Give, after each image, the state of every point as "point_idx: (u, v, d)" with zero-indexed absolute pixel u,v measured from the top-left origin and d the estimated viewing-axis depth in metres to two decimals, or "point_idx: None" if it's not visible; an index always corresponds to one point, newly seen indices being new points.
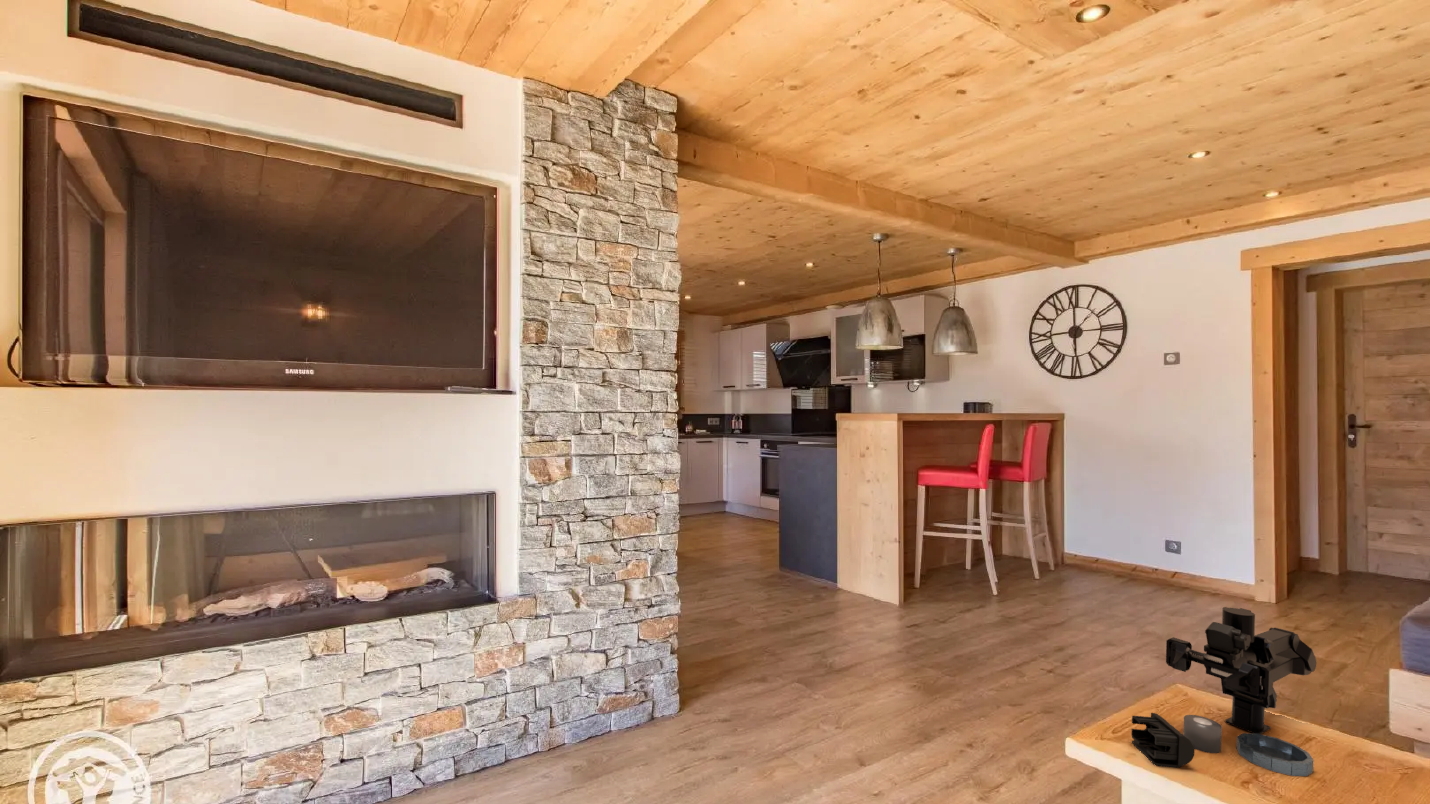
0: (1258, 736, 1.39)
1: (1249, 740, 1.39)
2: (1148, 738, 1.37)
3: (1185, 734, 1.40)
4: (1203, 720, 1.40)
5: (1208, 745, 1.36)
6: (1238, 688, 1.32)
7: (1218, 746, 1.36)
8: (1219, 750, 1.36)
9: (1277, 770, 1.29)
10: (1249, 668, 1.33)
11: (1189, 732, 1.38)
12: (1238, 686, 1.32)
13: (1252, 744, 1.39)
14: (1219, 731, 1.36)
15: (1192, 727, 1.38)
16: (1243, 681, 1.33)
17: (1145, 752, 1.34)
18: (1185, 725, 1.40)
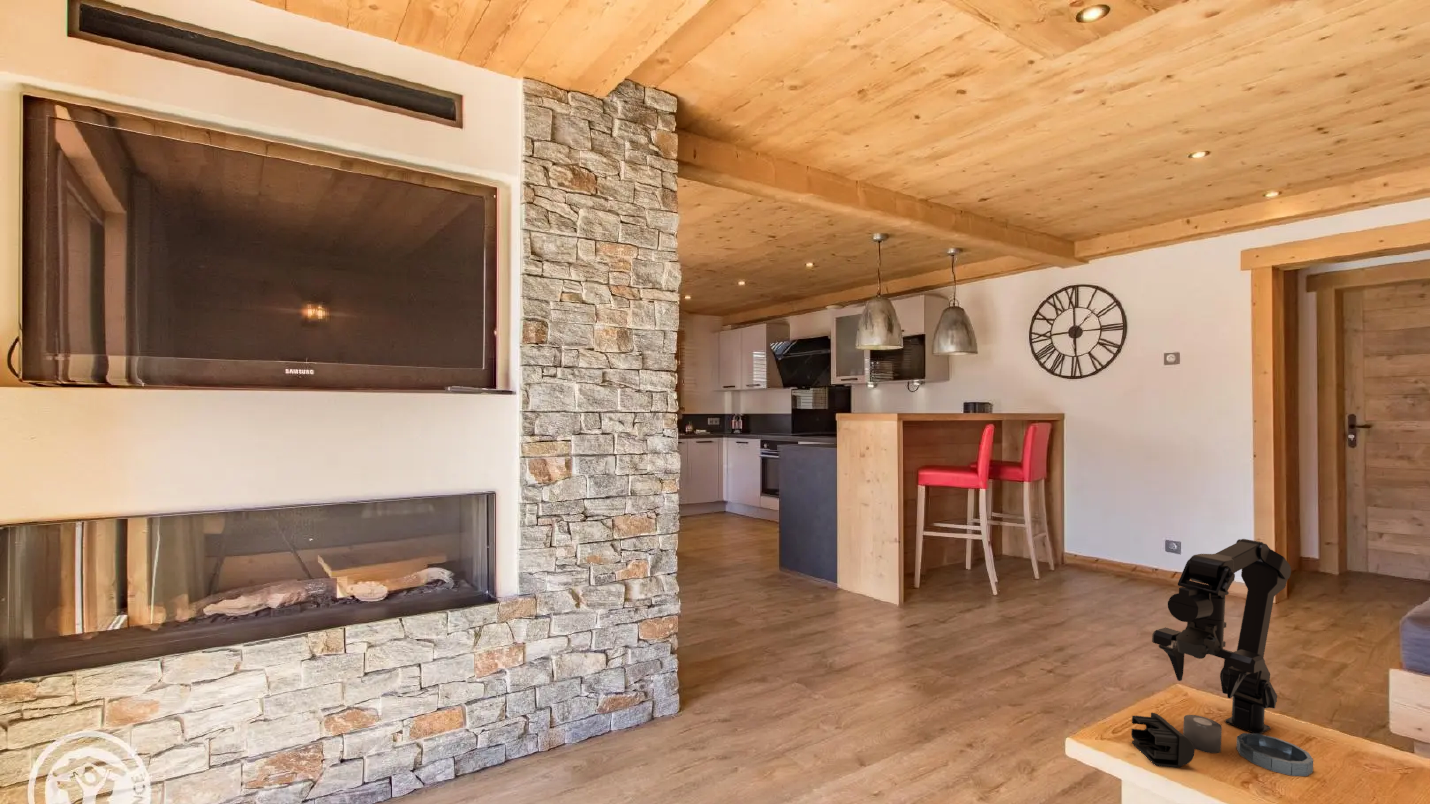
0: (1258, 736, 1.39)
1: (1249, 740, 1.39)
2: (1148, 738, 1.37)
3: (1185, 734, 1.40)
4: (1203, 720, 1.40)
5: (1208, 745, 1.36)
6: (1240, 682, 1.35)
7: (1218, 746, 1.36)
8: (1219, 750, 1.36)
9: (1277, 770, 1.29)
10: (1237, 673, 1.32)
11: (1189, 732, 1.38)
12: (1239, 682, 1.35)
13: (1252, 744, 1.39)
14: (1219, 731, 1.36)
15: (1192, 727, 1.38)
16: None
17: (1145, 752, 1.34)
18: (1185, 725, 1.40)
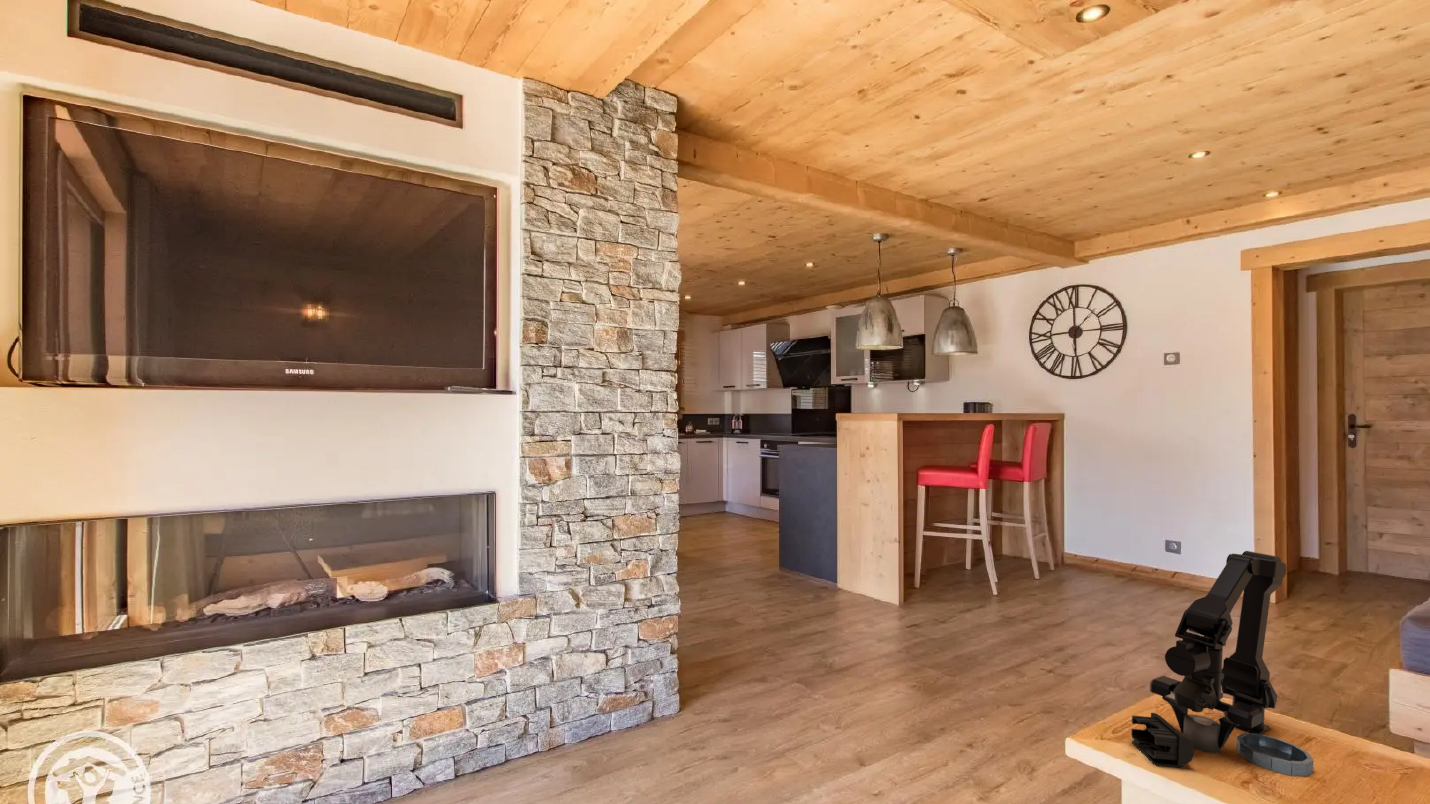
0: (1258, 736, 1.39)
1: (1249, 740, 1.39)
2: (1148, 738, 1.37)
3: (1185, 734, 1.40)
4: (1203, 719, 1.40)
5: (1208, 744, 1.36)
6: (1231, 732, 1.36)
7: None
8: (1219, 750, 1.36)
9: (1277, 770, 1.29)
10: (1227, 725, 1.33)
11: (1189, 732, 1.38)
12: (1230, 733, 1.36)
13: (1252, 744, 1.39)
14: (1219, 731, 1.36)
15: (1192, 727, 1.38)
16: None
17: (1145, 752, 1.34)
18: (1185, 725, 1.40)
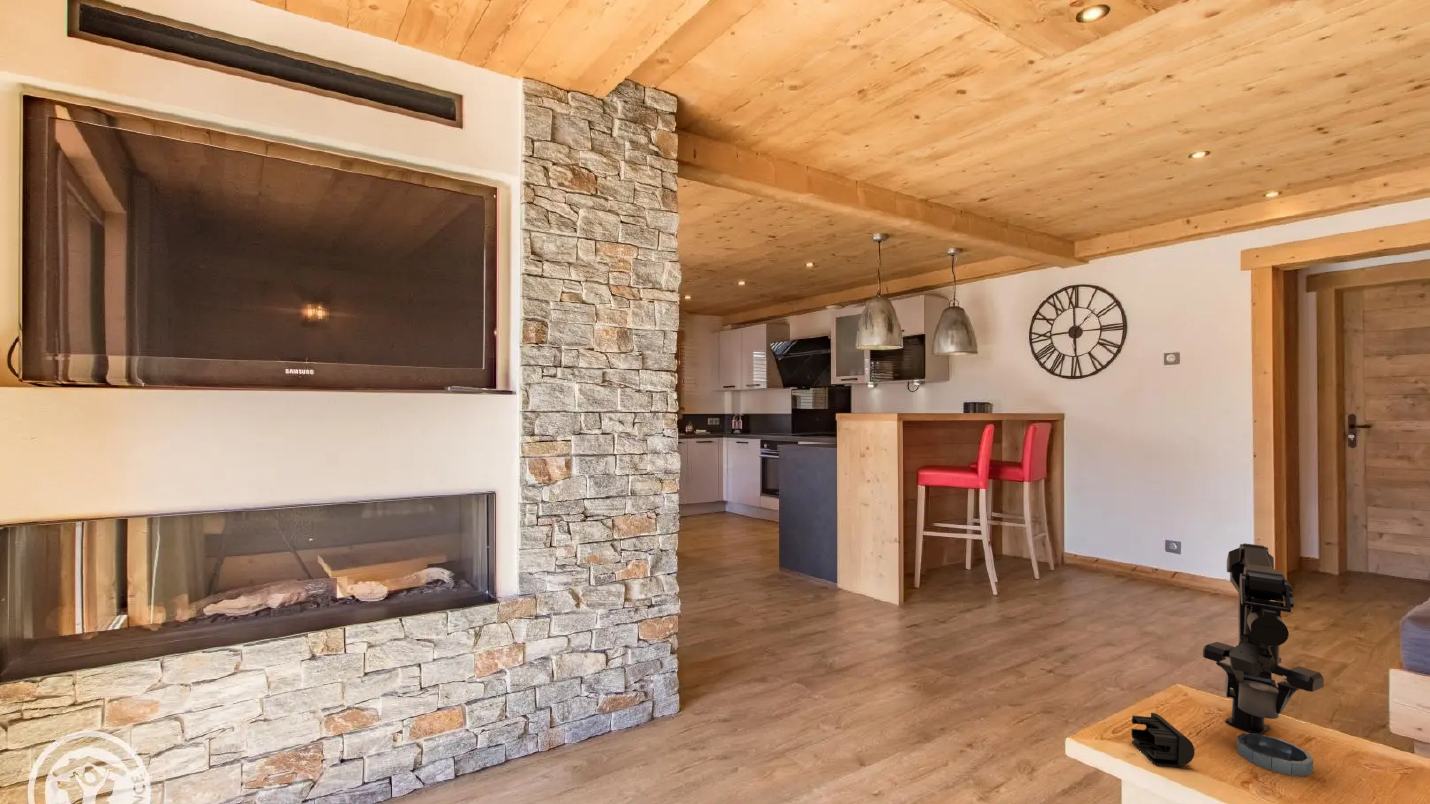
0: (1258, 736, 1.39)
1: (1249, 740, 1.39)
2: (1148, 738, 1.37)
3: (1240, 699, 1.36)
4: (1259, 685, 1.36)
5: (1266, 710, 1.32)
6: None
7: (1276, 711, 1.32)
8: (1277, 715, 1.32)
9: (1277, 770, 1.29)
10: (1286, 689, 1.29)
11: (1245, 697, 1.35)
12: (1289, 698, 1.32)
13: (1252, 744, 1.39)
14: (1277, 696, 1.32)
15: (1248, 692, 1.34)
16: None
17: (1145, 752, 1.34)
18: (1240, 690, 1.36)
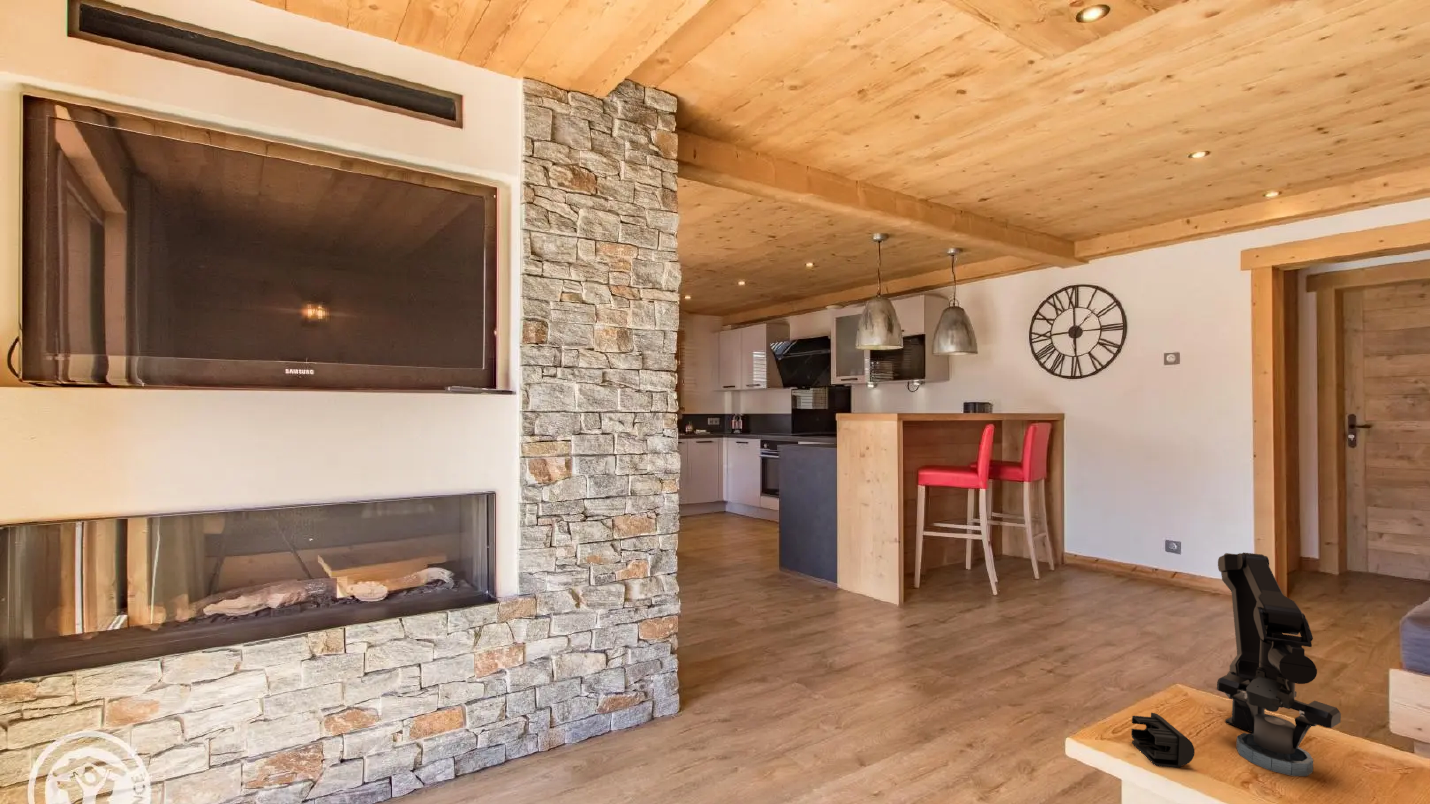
0: None
1: (1249, 740, 1.39)
2: (1148, 738, 1.37)
3: (1256, 734, 1.35)
4: (1275, 719, 1.35)
5: (1282, 745, 1.31)
6: (1306, 732, 1.31)
7: (1292, 746, 1.31)
8: (1293, 750, 1.31)
9: (1277, 770, 1.29)
10: (1304, 725, 1.28)
11: (1261, 732, 1.33)
12: (1305, 733, 1.31)
13: (1252, 744, 1.39)
14: (1294, 731, 1.31)
15: (1264, 727, 1.33)
16: None
17: (1145, 752, 1.34)
18: (1256, 724, 1.35)
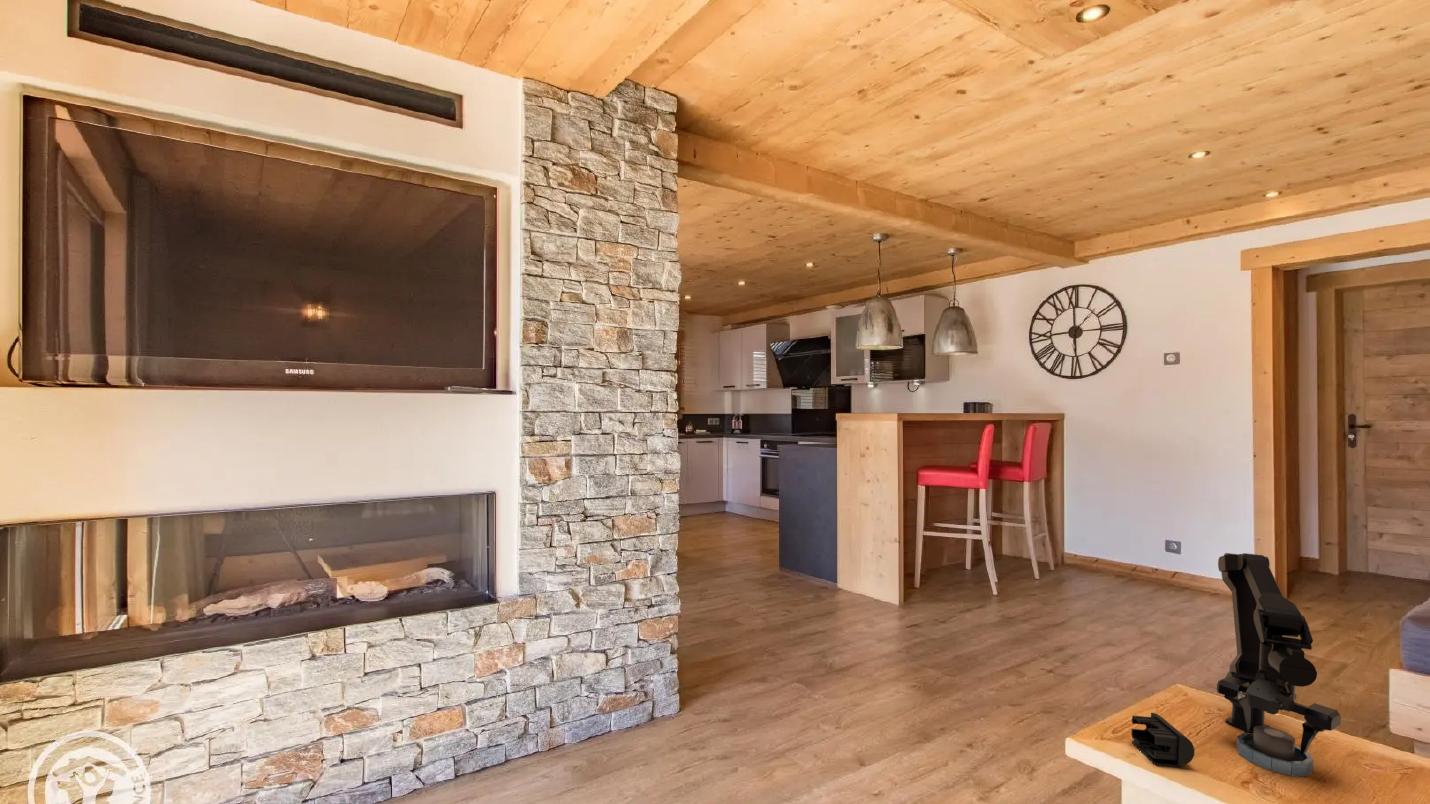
0: None
1: (1249, 740, 1.39)
2: (1148, 738, 1.37)
3: (1256, 746, 1.35)
4: (1274, 731, 1.35)
5: (1282, 757, 1.31)
6: (1313, 738, 1.30)
7: (1292, 759, 1.31)
8: None
9: (1277, 770, 1.29)
10: (1312, 730, 1.27)
11: (1261, 744, 1.33)
12: (1313, 738, 1.30)
13: (1252, 744, 1.39)
14: (1293, 743, 1.31)
15: (1264, 739, 1.33)
16: None
17: (1145, 752, 1.34)
18: (1256, 737, 1.35)
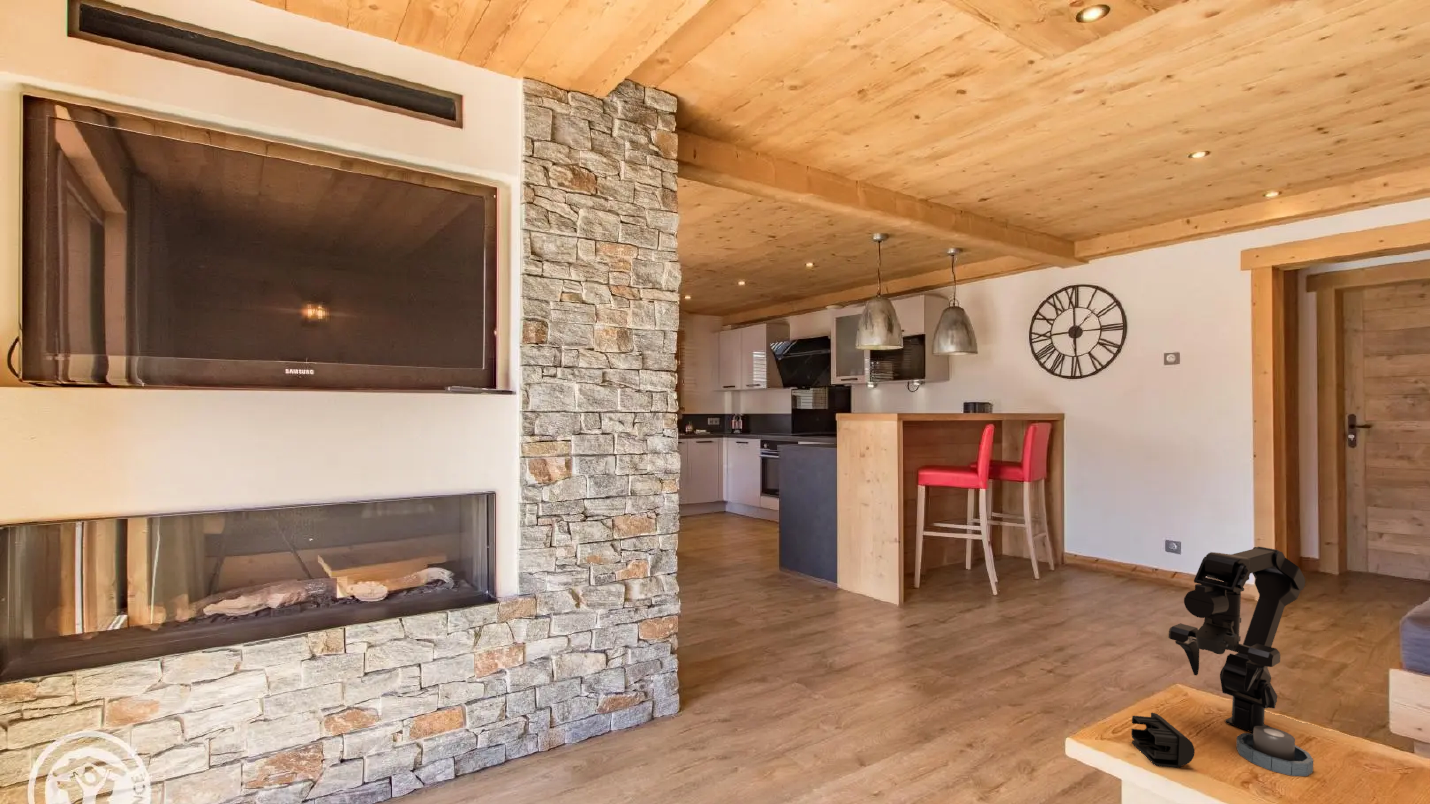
0: None
1: (1249, 740, 1.39)
2: (1148, 738, 1.37)
3: (1256, 746, 1.35)
4: (1274, 731, 1.35)
5: (1282, 757, 1.31)
6: (1256, 676, 1.39)
7: (1292, 759, 1.31)
8: None
9: (1277, 770, 1.29)
10: (1255, 667, 1.36)
11: (1261, 744, 1.33)
12: (1255, 676, 1.39)
13: (1252, 744, 1.39)
14: (1293, 743, 1.31)
15: (1264, 739, 1.33)
16: None
17: (1145, 752, 1.34)
18: (1256, 737, 1.35)
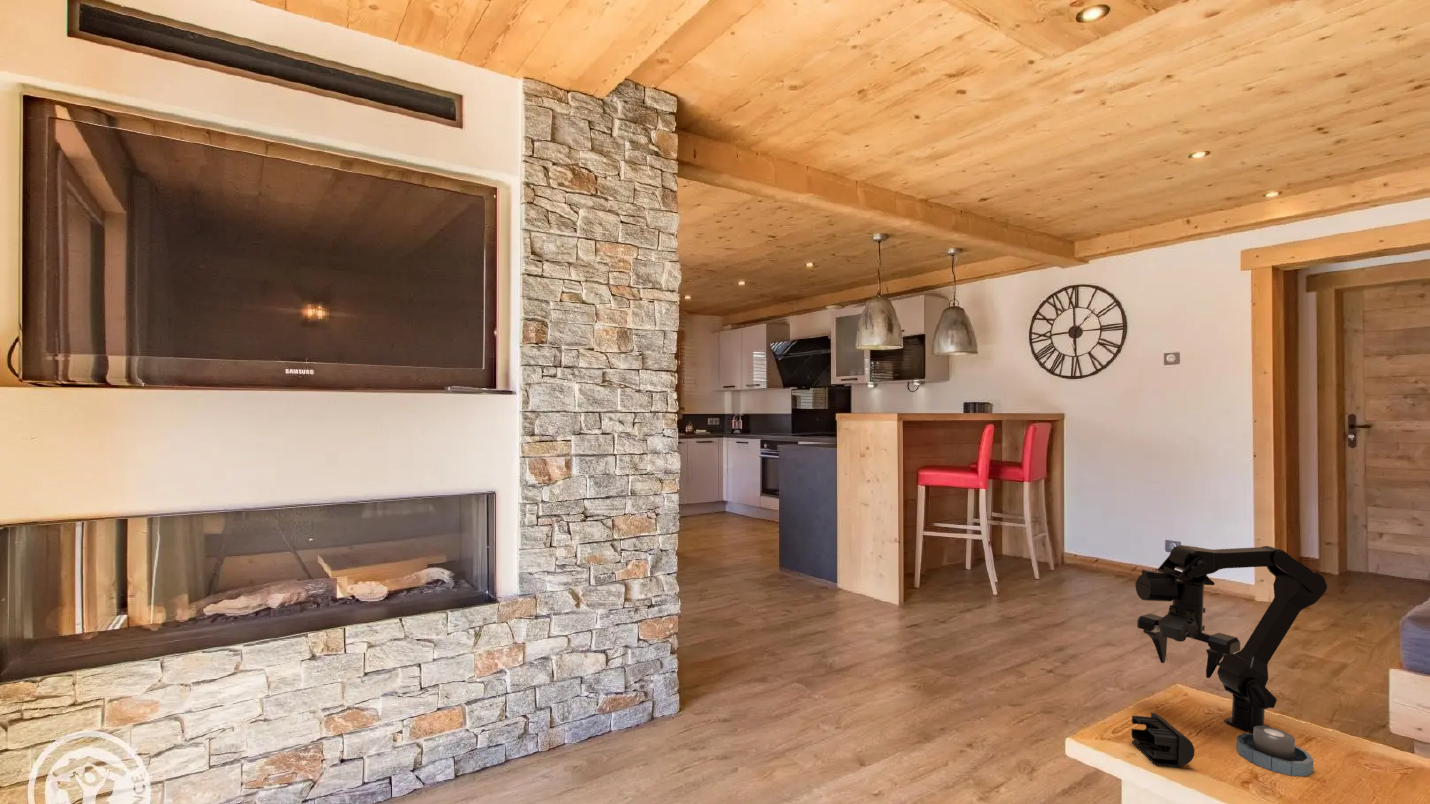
0: None
1: (1249, 740, 1.39)
2: (1148, 738, 1.37)
3: (1256, 746, 1.35)
4: (1274, 731, 1.35)
5: (1282, 757, 1.31)
6: (1218, 663, 1.45)
7: (1292, 759, 1.31)
8: None
9: (1277, 770, 1.29)
10: (1214, 655, 1.42)
11: (1261, 744, 1.33)
12: (1217, 663, 1.45)
13: (1252, 744, 1.39)
14: (1293, 743, 1.31)
15: (1264, 739, 1.33)
16: None
17: (1145, 752, 1.34)
18: (1256, 737, 1.35)
